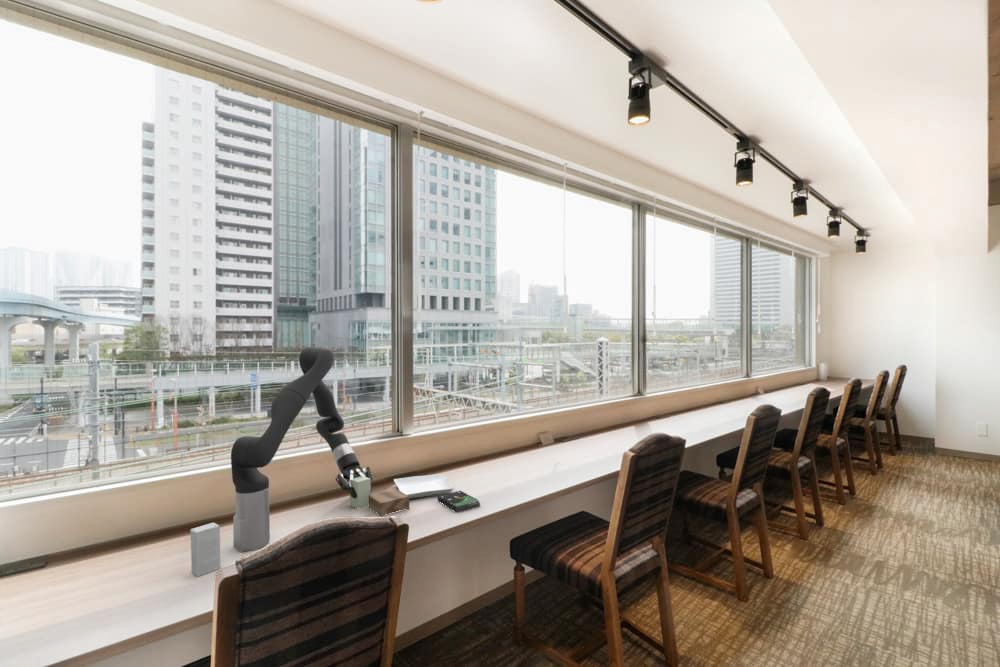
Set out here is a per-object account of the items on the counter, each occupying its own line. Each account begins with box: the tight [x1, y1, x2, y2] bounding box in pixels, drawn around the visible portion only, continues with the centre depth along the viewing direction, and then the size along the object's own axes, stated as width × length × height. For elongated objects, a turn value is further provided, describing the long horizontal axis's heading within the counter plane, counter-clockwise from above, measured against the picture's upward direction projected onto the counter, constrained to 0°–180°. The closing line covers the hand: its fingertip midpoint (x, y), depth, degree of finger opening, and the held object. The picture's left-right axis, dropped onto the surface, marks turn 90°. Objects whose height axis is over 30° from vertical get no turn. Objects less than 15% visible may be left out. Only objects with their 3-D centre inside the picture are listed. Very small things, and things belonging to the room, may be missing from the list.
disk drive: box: [437, 490, 481, 513], centre depth 178 cm, size 10×3×15 cm
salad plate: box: [393, 473, 455, 499], centre depth 194 cm, size 21×21×3 cm
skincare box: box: [190, 522, 222, 577], centre depth 130 cm, size 6×4×12 cm
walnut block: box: [368, 488, 410, 517], centre depth 174 cm, size 11×11×5 cm
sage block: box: [349, 476, 372, 510], centre depth 178 cm, size 6×6×10 cm
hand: (362, 495), depth 177 cm, fingers closed on sage block, 5 cm apart
